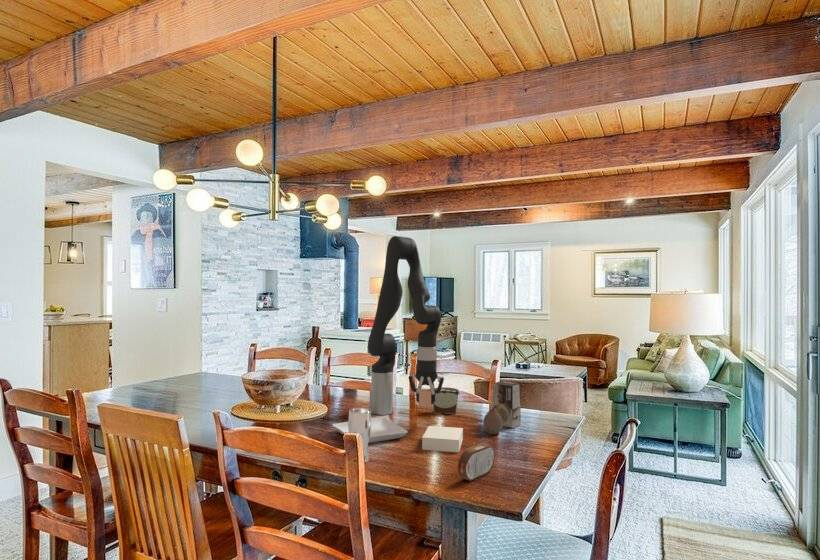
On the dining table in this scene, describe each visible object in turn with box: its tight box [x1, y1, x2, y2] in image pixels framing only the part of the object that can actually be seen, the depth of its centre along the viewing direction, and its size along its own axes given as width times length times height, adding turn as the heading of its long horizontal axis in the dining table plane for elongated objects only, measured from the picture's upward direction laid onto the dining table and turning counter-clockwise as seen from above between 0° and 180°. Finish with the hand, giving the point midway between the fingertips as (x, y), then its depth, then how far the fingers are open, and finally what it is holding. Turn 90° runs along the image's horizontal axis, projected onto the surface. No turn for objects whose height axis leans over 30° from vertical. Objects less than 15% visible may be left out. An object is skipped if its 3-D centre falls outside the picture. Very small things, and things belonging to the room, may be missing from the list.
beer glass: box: [347, 407, 372, 463], centre depth 150 cm, size 7×7×15 cm
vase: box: [482, 407, 503, 435], centre depth 180 cm, size 7×7×9 cm
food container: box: [432, 386, 460, 415], centre depth 211 cm, size 12×6×10 cm, turn 84°
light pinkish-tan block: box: [418, 387, 433, 408], centre depth 187 cm, size 4×4×6 cm
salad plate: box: [332, 416, 408, 444], centre depth 175 cm, size 21×21×3 cm
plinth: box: [421, 425, 464, 453], centre depth 166 cm, size 12×14×4 cm
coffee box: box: [492, 380, 522, 429], centre depth 192 cm, size 9×6×16 cm
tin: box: [457, 442, 496, 482], centre depth 138 cm, size 15×3×8 cm, turn 137°
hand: (425, 403), depth 187 cm, fingers closed on light pinkish-tan block, 4 cm apart
